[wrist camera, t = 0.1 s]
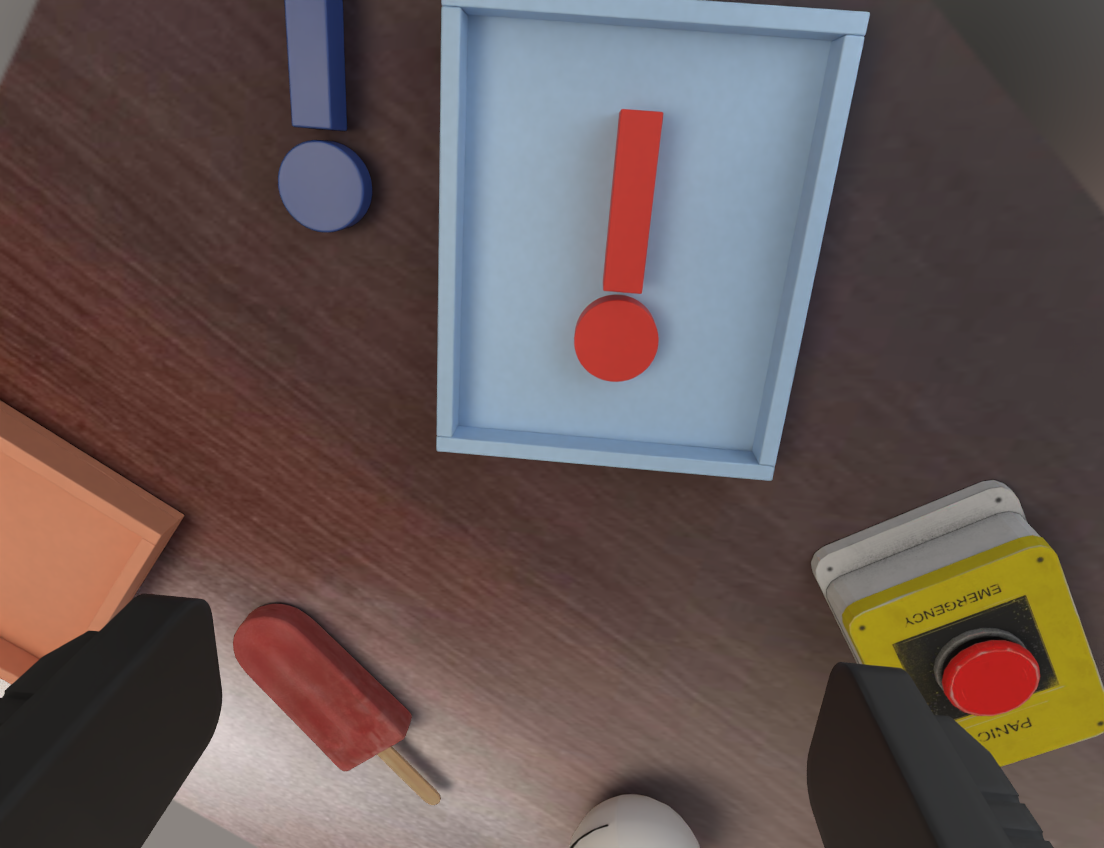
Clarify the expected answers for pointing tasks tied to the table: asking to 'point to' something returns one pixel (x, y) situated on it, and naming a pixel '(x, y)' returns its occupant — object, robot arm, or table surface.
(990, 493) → the emergency button
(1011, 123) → the table surface
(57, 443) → the clay tray
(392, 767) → the popsicle
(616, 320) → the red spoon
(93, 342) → the table surface
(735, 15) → the blue tray
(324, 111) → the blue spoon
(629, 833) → the seamed sphere
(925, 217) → the table surface
